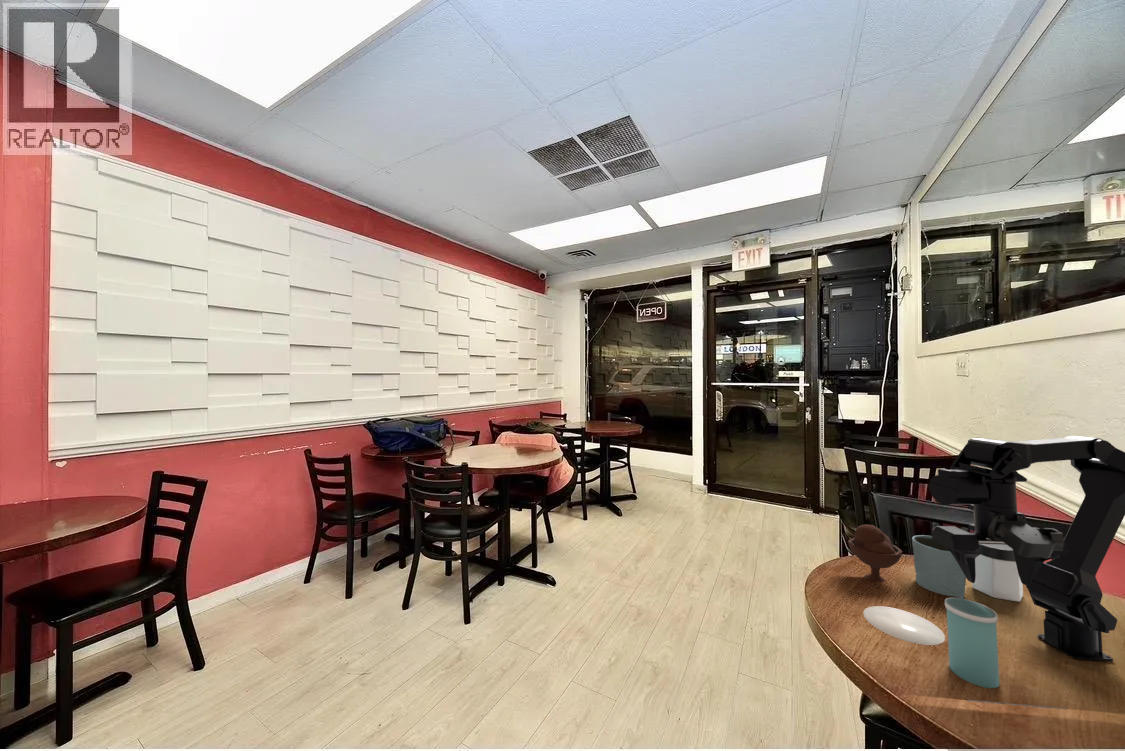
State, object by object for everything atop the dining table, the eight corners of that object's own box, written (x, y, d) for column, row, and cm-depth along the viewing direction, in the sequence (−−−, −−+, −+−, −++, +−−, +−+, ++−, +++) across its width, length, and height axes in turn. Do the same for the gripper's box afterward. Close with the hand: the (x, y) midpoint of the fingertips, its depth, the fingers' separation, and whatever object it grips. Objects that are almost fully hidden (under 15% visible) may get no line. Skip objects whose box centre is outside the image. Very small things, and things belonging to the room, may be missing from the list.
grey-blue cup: (912, 576, 102) (910, 531, 102) (966, 589, 96) (964, 541, 96) (915, 593, 94) (913, 544, 95) (974, 607, 88) (972, 555, 88)
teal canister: (959, 659, 71) (956, 594, 72) (1009, 684, 65) (1005, 613, 66) (940, 669, 69) (936, 602, 69) (989, 695, 63) (985, 622, 63)
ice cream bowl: (906, 598, 92) (904, 536, 93) (849, 584, 99) (847, 526, 99) (901, 579, 101) (899, 522, 101) (849, 568, 107) (847, 514, 108)
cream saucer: (912, 612, 87) (912, 608, 87) (964, 652, 74) (964, 647, 74) (850, 608, 88) (850, 604, 89) (889, 647, 76) (889, 642, 76)
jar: (1036, 601, 90) (1033, 550, 90) (1004, 603, 89) (1001, 552, 90) (991, 581, 99) (988, 535, 99) (961, 583, 98) (959, 536, 99)
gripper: (978, 516, 68) (982, 603, 68) (1102, 519, 65) (1107, 611, 65) (928, 497, 79) (931, 573, 79) (1032, 499, 76) (1036, 578, 76)
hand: (998, 583), depth 74 cm, fingers open, 9 cm apart
